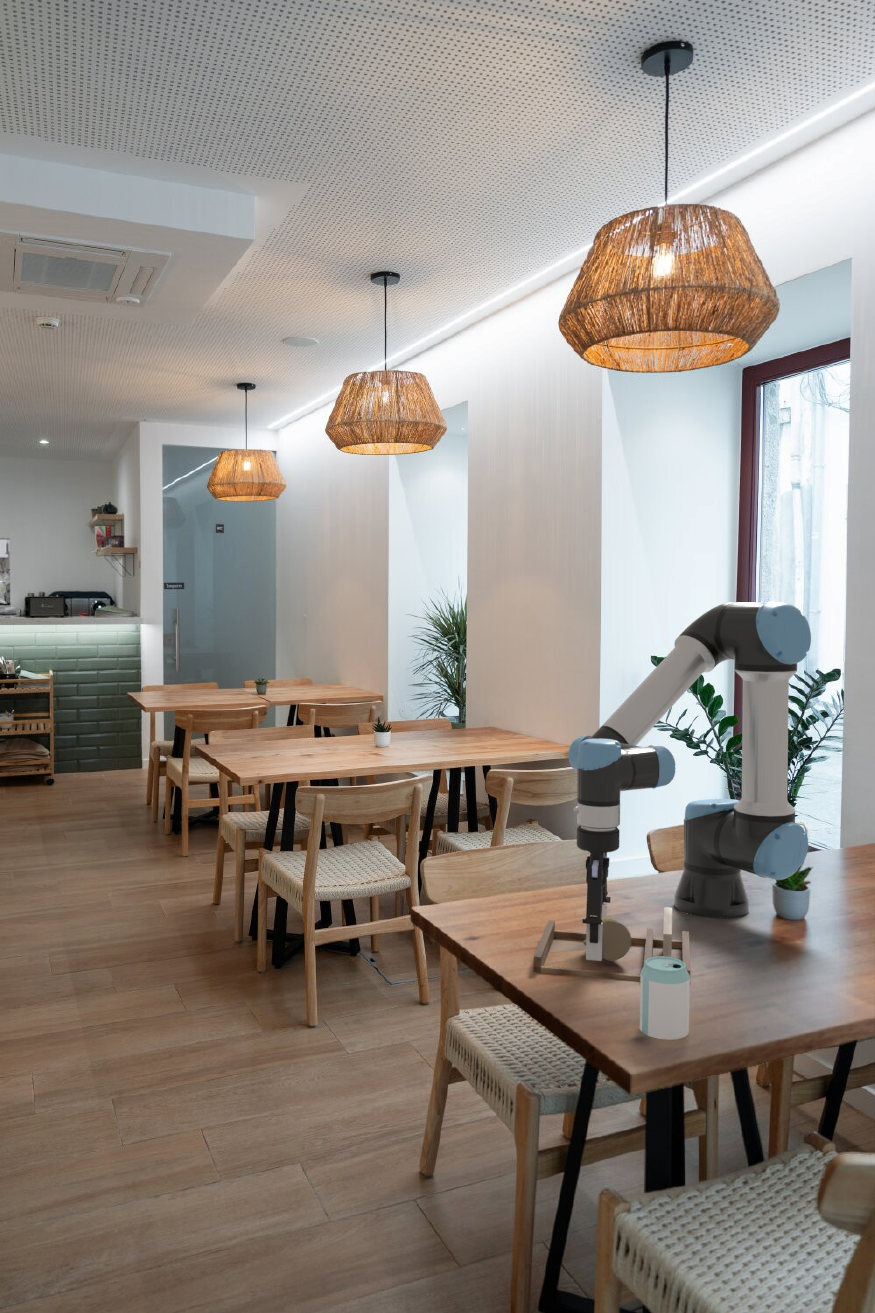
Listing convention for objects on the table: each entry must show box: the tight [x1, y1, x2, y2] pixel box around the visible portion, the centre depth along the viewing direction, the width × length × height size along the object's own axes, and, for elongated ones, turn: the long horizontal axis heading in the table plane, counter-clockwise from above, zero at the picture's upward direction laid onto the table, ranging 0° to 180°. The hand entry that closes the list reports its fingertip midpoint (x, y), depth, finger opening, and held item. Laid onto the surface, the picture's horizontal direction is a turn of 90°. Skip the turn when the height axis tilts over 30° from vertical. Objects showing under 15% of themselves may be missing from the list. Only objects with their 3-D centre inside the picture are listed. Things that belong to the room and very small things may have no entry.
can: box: [639, 955, 691, 1041], centre depth 145 cm, size 7×7×12 cm
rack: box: [533, 906, 691, 982], centre depth 176 cm, size 26×20×9 cm
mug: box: [583, 918, 632, 962], centre depth 176 cm, size 8×10×10 cm
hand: (596, 948), depth 177 cm, fingers closed on mug, 10 cm apart
